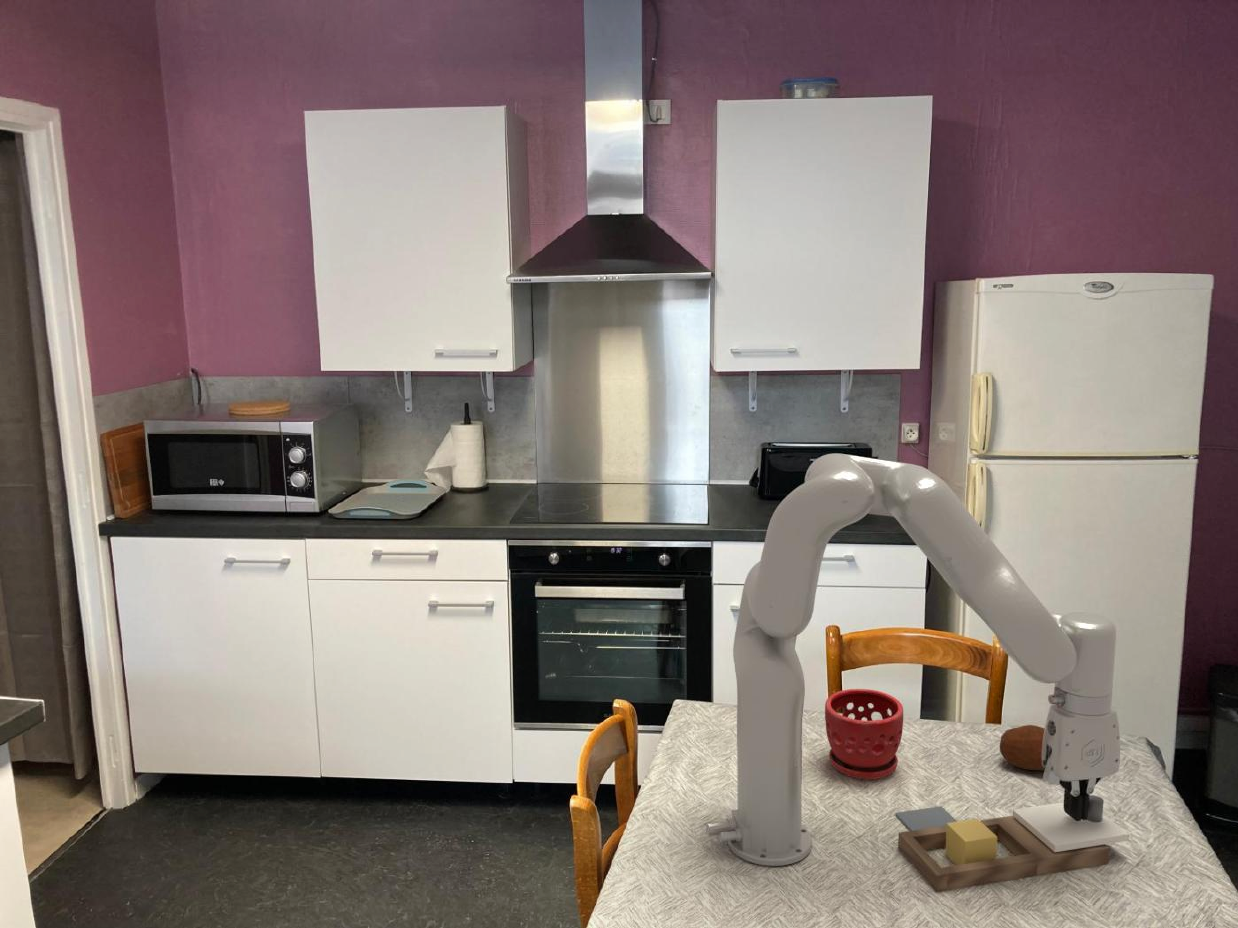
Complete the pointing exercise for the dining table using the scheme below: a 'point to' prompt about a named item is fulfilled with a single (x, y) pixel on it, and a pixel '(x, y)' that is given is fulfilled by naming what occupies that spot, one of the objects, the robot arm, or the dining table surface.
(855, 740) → the plant pot
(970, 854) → the block
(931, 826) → the mat
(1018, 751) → the potato
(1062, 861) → the brown box
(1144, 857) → the dining table surface
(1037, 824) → the lid
